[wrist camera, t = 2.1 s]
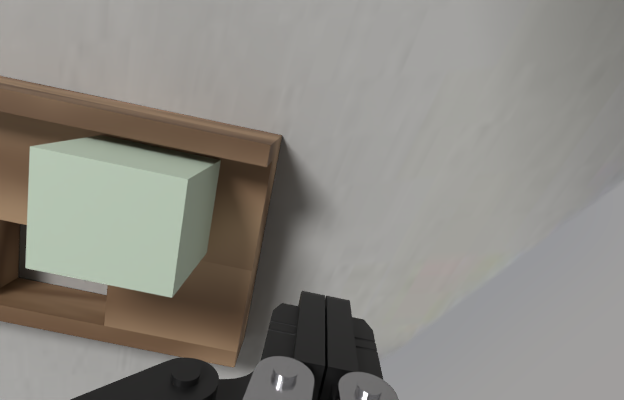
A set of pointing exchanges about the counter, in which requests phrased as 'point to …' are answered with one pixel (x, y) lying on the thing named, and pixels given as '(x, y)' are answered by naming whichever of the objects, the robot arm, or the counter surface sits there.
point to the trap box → (120, 301)
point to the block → (119, 212)
